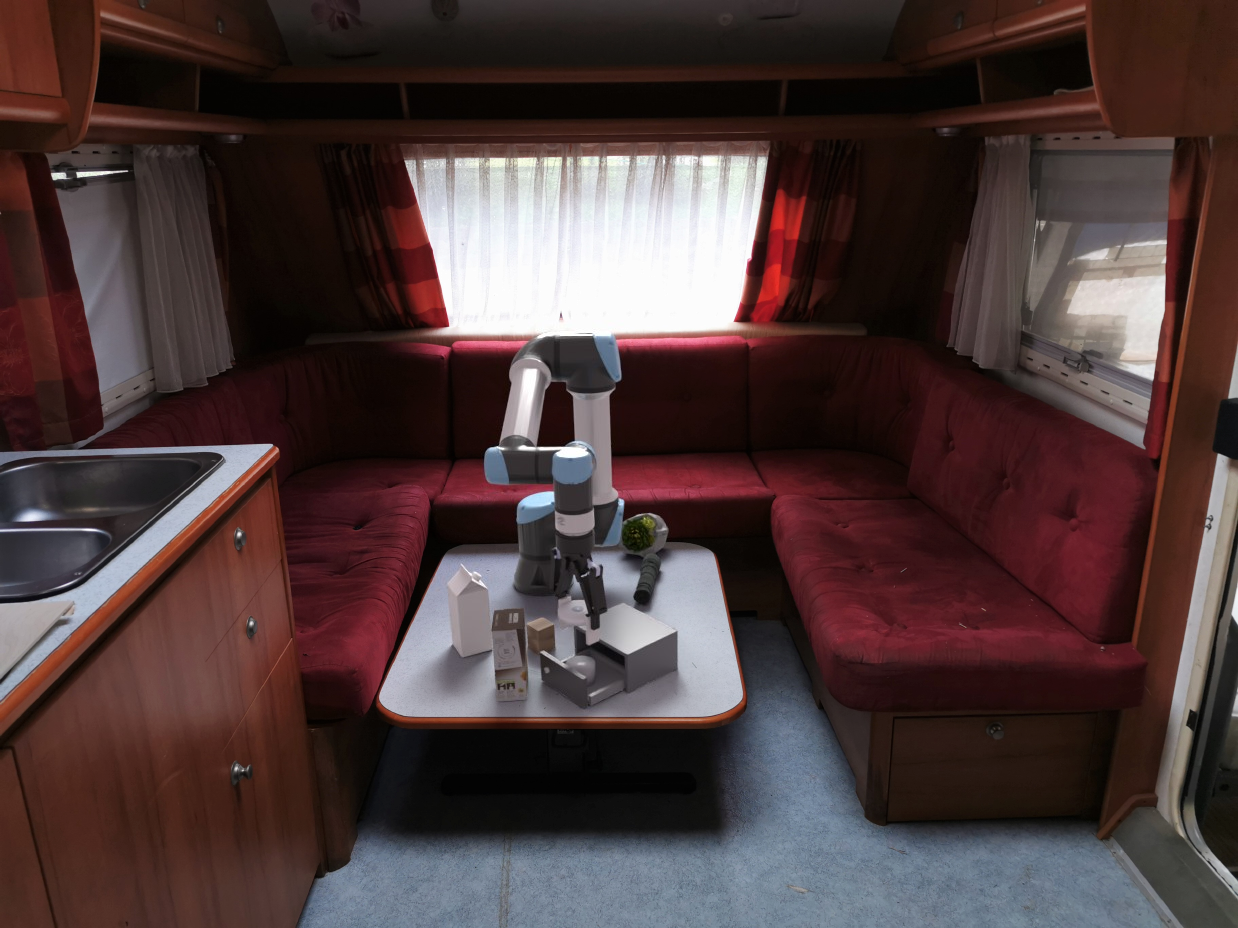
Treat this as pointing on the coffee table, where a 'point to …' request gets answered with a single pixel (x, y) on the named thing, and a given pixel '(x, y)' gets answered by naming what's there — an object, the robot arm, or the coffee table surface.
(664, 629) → the housing
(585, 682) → the drawer
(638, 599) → the flashlight
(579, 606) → the disc
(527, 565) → the robot arm
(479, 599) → the milk carton
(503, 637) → the coffee box
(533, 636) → the brown boxy piece
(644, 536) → the potted plant
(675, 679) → the coffee table surface
